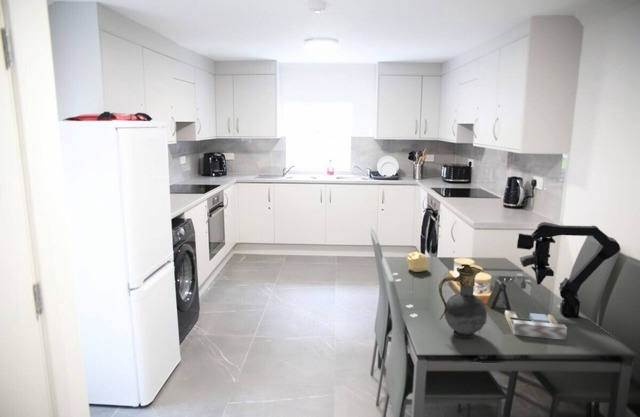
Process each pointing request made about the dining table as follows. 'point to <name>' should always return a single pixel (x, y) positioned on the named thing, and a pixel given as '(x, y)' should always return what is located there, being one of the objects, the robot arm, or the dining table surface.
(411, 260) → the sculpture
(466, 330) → the pitcher
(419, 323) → the dining table surface
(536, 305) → the dining table surface
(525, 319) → the pale blue mallet
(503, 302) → the phone stand
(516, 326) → the beige grey patterned tray
